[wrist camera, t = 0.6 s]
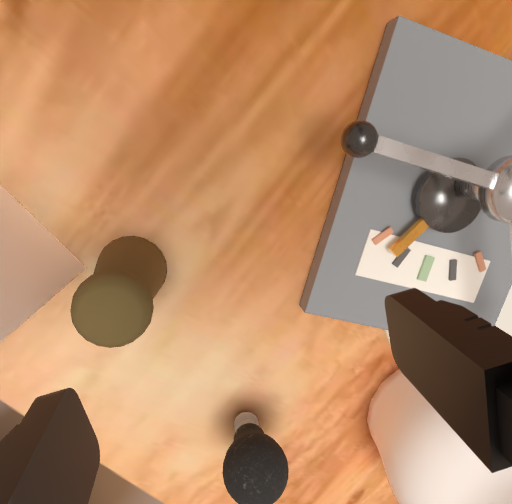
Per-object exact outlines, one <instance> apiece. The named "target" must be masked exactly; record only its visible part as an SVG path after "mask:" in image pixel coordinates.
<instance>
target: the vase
mask: <svg viewBox="0 0 512 504" xmlns="http://www.w3.org/2000/svg"><path fill="white" fill-rule="evenodd" d="M367 422H368V426H369V430H370V433H371V437H372V439H373V440H374V442H375V444H376V446H377V448H378V450H379V453H380V456H381V459H382V463H383V466H384V469H385V473H386V476H387V479H388V482H389V485H390V487H391V489H392V492H393V494H394V496H395V497H396V499H397V501H398V503H399V504H512V467H509V468H506V469H503V470H500V471H497V472H494V473H491V471H490V470H489V469H488V468H487V467H486V466H485V465H484V464H483V463H482V461H481V460H480V459H479V458H478V457H477V456H476V455H475V454H474V453H473V451H472V450H471V449H470V448H469V447H468V446H467V445H466V444H465V442H464V441H463V440H462V439H461V438H460V437H459V436H458V435H457V434H456V432H455V431H454V430H453V429H452V428H451V427H450V426H449V425H448V424H447V422H446V421H445V420H444V419H443V418H442V417H441V416H440V415H439V414H438V412H437V411H436V410H435V409H434V408H433V407H432V406H431V405H430V404H429V402H428V401H427V400H426V399H425V398H424V397H423V396H422V395H421V393H420V392H419V391H418V390H417V389H416V388H415V387H414V386H413V385H412V383H411V382H410V381H409V380H408V379H407V378H406V377H405V376H404V375H403V373H402V372H401V371H400V369H397V370H396V371H395V372H394V373H392V374H391V375H390V376H389V377H388V378H386V379H385V380H384V381H383V382H381V384H380V385H379V387H378V389H377V390H376V392H375V394H374V395H373V397H372V399H371V400H370V405H369V410H368V416H367Z"/></svg>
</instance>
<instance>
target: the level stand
mask: <svg viewBox="0 0 512 504" xmlns="http://www.w3.org/2000/svg"><path fill="white" fill-rule="evenodd" d="M359 120H363V121H367V122H369V123H371V124H372V125H373V126H374V127H375V128H376V130H377V133H378V135H380V136H383V137H386V138H389V139H392V140H395V141H399V142H402V143H405V144H408V145H411V146H414V147H417V148H420V149H423V150H426V151H429V152H433V153H436V154H439V155H442V156H445V157H448V158H451V159H454V160H457V161H460V162H463V163H467V164H470V165H473V166H476V167H479V168H482V169H485V170H487V169H488V168H489V167H490V165H491V164H493V163H494V162H495V161H496V160H498V159H500V158H502V157H504V156H508V155H512V61H511V60H509V59H506V58H504V57H501V56H499V55H496V54H494V53H491V52H489V51H486V50H484V49H481V48H479V47H476V46H474V45H471V44H469V43H466V42H464V41H461V40H459V39H456V38H454V37H451V36H449V35H446V34H444V33H441V32H439V31H436V30H434V29H431V28H429V27H426V26H424V25H421V24H419V23H416V22H414V21H411V20H409V19H406V18H404V17H401V16H398V17H396V18H395V19H393V20H392V21H390V22H389V23H387V26H386V29H385V32H384V36H383V39H382V42H381V45H380V48H379V52H378V55H377V58H376V61H375V64H374V67H373V71H372V74H371V77H370V80H369V83H368V87H367V90H366V93H365V96H364V99H363V103H362V106H361V109H360V112H359V115H358V119H357V121H359ZM427 172H429V171H426V170H423V169H420V168H417V167H413V166H410V165H407V164H404V163H400V162H397V161H394V160H391V159H388V158H384V157H381V156H378V155H375V154H372V153H371V154H369V155H368V156H366V157H363V158H354V157H351V156H349V155H348V154H346V157H345V160H344V163H343V167H342V170H341V173H340V176H339V179H338V183H337V186H336V189H335V192H334V195H333V199H332V202H331V205H330V208H329V211H328V215H327V218H326V221H325V224H324V227H323V231H322V234H321V237H320V240H319V243H318V247H317V250H316V253H315V256H314V259H313V263H312V266H311V269H310V272H309V275H308V279H307V282H306V285H305V288H304V291H303V294H302V298H301V301H300V304H299V305H300V306H301V308H302V309H303V311H304V312H305V313H309V314H314V315H319V316H323V317H328V318H333V319H338V320H343V321H347V322H352V323H357V324H362V325H367V326H371V327H376V328H381V329H386V330H388V324H387V317H386V311H385V297H386V296H388V295H391V294H394V293H398V292H401V291H405V290H408V289H411V288H417V289H418V290H420V291H422V292H423V293H425V294H426V295H428V296H429V297H431V298H432V299H434V300H435V301H439V300H443V301H447V302H451V303H454V304H458V305H461V306H463V307H465V308H467V309H468V310H470V311H471V312H473V313H475V314H476V315H478V317H479V318H483V319H484V320H486V321H488V322H489V323H491V325H492V326H494V325H495V323H496V321H497V318H498V316H499V313H500V311H501V308H502V306H503V304H504V302H505V299H506V297H507V294H508V292H509V290H510V287H511V285H512V258H511V245H510V232H509V224H508V223H504V222H499V221H495V220H493V219H491V218H489V217H488V216H487V215H486V214H485V213H484V212H483V210H482V208H481V210H480V212H479V214H478V215H477V217H476V218H475V219H474V221H473V222H472V223H471V224H469V225H468V226H467V227H465V228H464V229H462V230H460V231H457V232H453V233H443V232H439V231H436V230H433V229H430V228H427V229H426V230H425V231H424V232H423V233H422V234H421V235H420V236H419V237H418V238H417V239H416V240H415V241H414V242H413V243H412V244H411V245H410V246H409V247H407V248H406V249H405V250H404V251H403V252H402V253H401V254H400V255H399V256H398V257H396V256H394V255H393V254H392V252H391V251H390V250H389V248H390V247H391V246H392V245H393V244H394V243H395V242H396V241H397V240H398V239H399V238H400V237H401V236H402V235H403V234H404V233H405V232H406V231H407V230H408V229H409V228H410V227H411V226H412V225H413V224H414V223H415V222H416V221H417V220H418V219H419V218H418V216H417V214H416V211H415V205H414V198H415V193H416V189H417V187H418V184H419V183H420V181H421V179H422V178H423V177H424V176H425V174H426V173H427Z"/></svg>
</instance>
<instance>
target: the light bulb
mask: <svg viewBox="0 0 512 504" xmlns="http://www.w3.org/2000/svg"><path fill="white" fill-rule="evenodd" d="M234 431H235V435H234V441H233V443H232V444H231V446H230V447H229V449H228V451H227V453H226V456H225V459H224V463H223V478H224V484H225V486H226V488H227V491H228V493H229V494H230V495H231V497H232V498H233V499H234V500H235V501H236V502H237V503H239V504H273V503H274V502H276V501H277V499H278V498H279V497H280V496H281V495H282V493H283V491H284V489H285V487H286V484H287V480H288V462H287V459H286V456H285V454H284V452H283V450H282V448H281V447H280V446H279V445H278V443H277V442H276V441H275V440H274V439H273V438H271V437H269V436H268V435H266V434H264V432H263V431H262V429H261V428H260V426H259V422H258V419H257V417H256V416H255V414H253V413H251V412H243V413H240V414H239V415H238V416H237V417H236V418H235V421H234Z"/></svg>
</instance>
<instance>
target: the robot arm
mask: <svg viewBox="0 0 512 504" xmlns="http://www.w3.org/2000/svg"><path fill="white" fill-rule="evenodd" d="M385 311H386V317H387V324H388V330H389V337H390V343H391V349H392V353H393V357H394V359H395V362H396V364H397V366H398V368H399V369H400V371H401V372H402V373H403V375H404V376H405V377H406V378H407V379H408V380H409V381H410V382H411V383H412V385H413V386H414V387H415V388H416V389H417V390H418V391H419V392H420V393H421V395H422V396H423V397H424V398H425V399H426V400H427V401H428V402H429V404H430V405H431V406H432V407H433V408H434V409H435V410H436V411H437V412H438V414H439V415H440V416H441V417H442V418H443V419H444V420H445V421H446V422H447V424H448V425H449V426H450V427H451V428H452V429H453V430H454V431H455V432H456V434H457V435H458V436H459V437H460V438H461V439H462V440H463V441H464V442H465V444H466V445H467V446H468V447H469V448H470V449H471V450H472V451H473V453H474V454H475V455H476V456H477V457H478V458H479V459H480V460H481V461H482V463H483V464H484V465H485V466H486V467H487V468H488V469H489V470H490V471H491V473H494V472H497V471H500V470H503V469H506V468H509V467H512V336H510V335H509V334H507V333H505V332H504V331H502V330H500V329H499V328H497V327H496V326H492V325H491V323H489V322H488V321H486V320H484V319H483V318H479V317H478V315H476V314H475V313H473V312H471V311H470V310H468V309H467V308H465V307H463V306H461V305H458V304H454V303H451V302H447V301H443V300H439V301H435V300H434V299H432V298H431V297H429V296H428V295H426V294H425V293H423V292H422V291H420V290H418V289H417V288H411V289H408V290H405V291H401V292H398V293H394V294H391V295H388V296H386V297H385ZM99 462H100V450H99V444H98V440H97V437H96V435H95V433H94V430H93V428H92V426H91V424H90V421H89V419H88V417H87V415H86V412H85V410H84V408H83V406H82V403H81V401H80V399H79V397H78V395H77V393H76V391H75V390H74V389H72V388H67V389H63V390H60V391H57V392H53V393H50V394H46V395H43V396H39V397H37V398H36V399H35V400H34V402H33V403H32V405H31V407H30V408H29V410H28V412H27V413H26V415H25V417H24V418H23V420H22V422H21V423H20V424H18V425H16V426H15V427H14V428H13V429H12V430H11V431H10V432H9V433H8V434H7V435H6V436H5V437H4V438H3V439H2V440H1V441H0V504H88V501H89V498H90V495H91V491H92V488H93V484H94V481H95V477H96V474H97V470H98V467H99Z"/></svg>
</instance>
